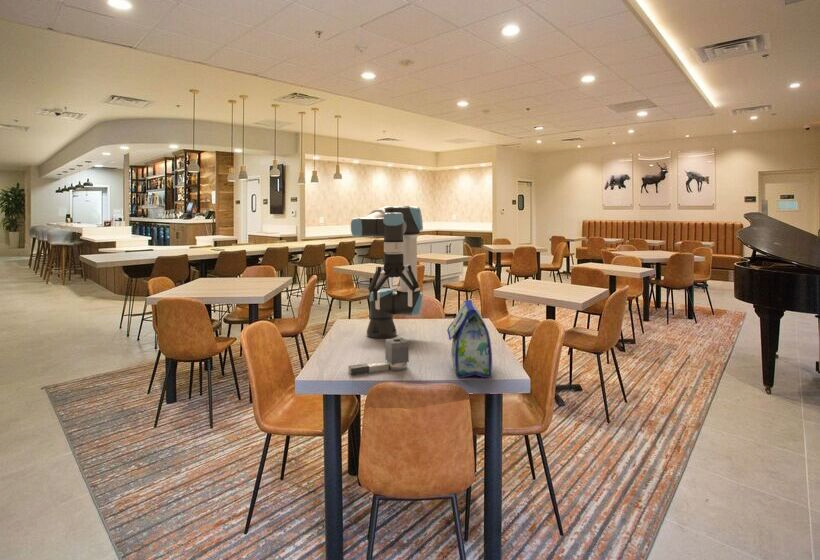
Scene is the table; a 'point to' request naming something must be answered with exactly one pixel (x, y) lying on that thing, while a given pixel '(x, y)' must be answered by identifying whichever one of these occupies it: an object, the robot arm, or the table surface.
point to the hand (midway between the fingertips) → (394, 307)
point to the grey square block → (396, 350)
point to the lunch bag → (470, 343)
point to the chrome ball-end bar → (376, 367)
